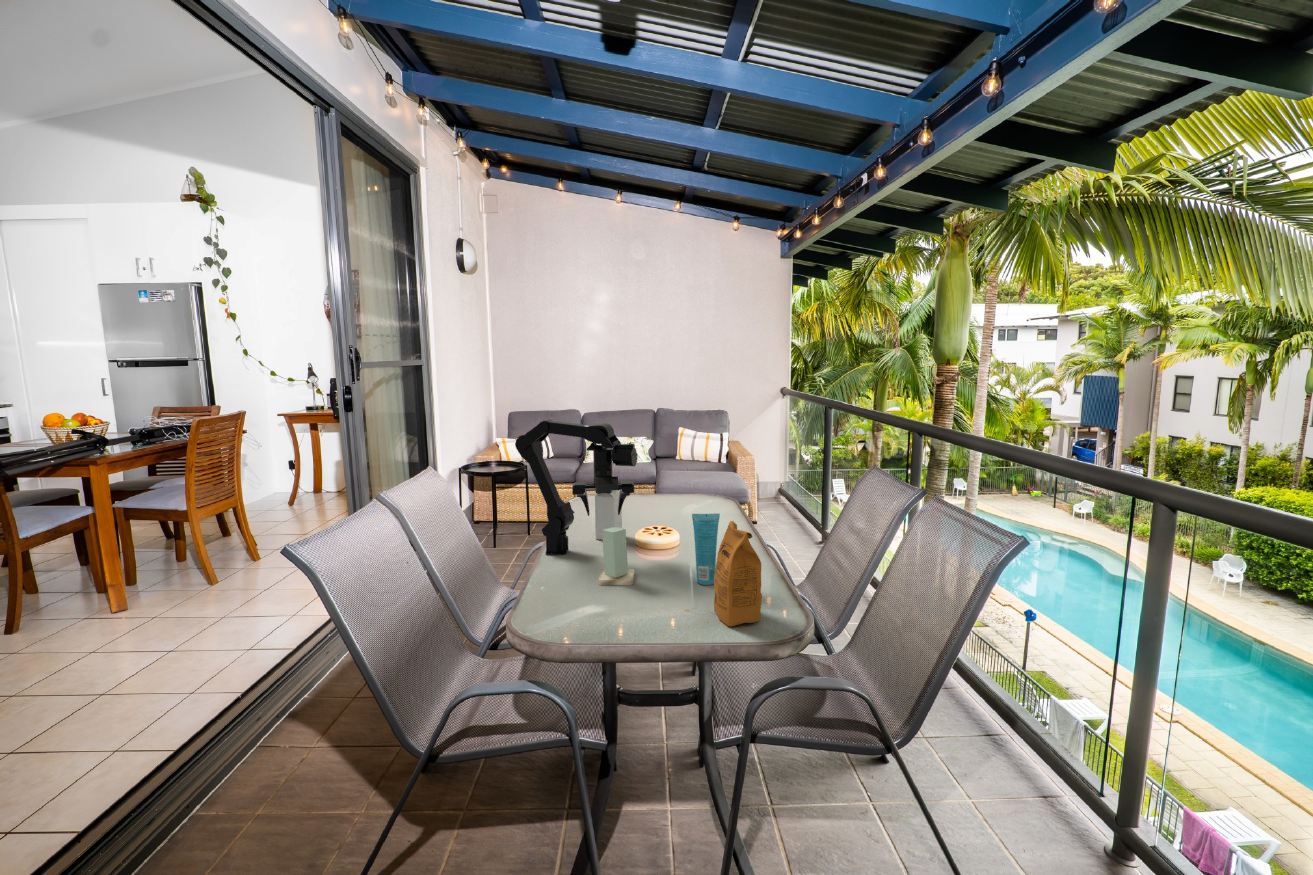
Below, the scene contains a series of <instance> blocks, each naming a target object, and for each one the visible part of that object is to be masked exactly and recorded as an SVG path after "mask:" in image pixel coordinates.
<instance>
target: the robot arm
mask: <svg viewBox="0 0 1313 875" xmlns="http://www.w3.org/2000/svg"><path fill="white" fill-rule="evenodd" d="M550 434H551V435H558V436H560V435H561V436H566V437H567V436H568V437H575V438H580V439H584V440H586V441H588V442H590V445H589V446H587V447H586V451H588V452H589V451H592V452H593V453H592V454H593V458H592V460H593V484H586V481H576V482H575V481H574V483H573V484H572V487H571V488H572V491H571V492H572V495H574V496H575V495H576V497H577V498H580V500H581V501H582V502H583V505H584V508H585V511H586V513H587V516H589V517H590V506H589V499H588V492H595V494H596V495H597V494H601V493H607V494H610V493H612V490H619V491H620V493H619V503H618V515H620V511H621V508H622V507H623V505H624V502H625V501H626V498H627V497H628V496H631V494H634V493H635V484H634V482H633V481H632V480H621V481H620V483H619V477H618V476H613V464H614V465H615V466H617V467H636V465H637V462H638V453H637V449H636V445H635V443H626V444H625V443H622V442H621V441H620V440H619V438H618V436H616V433H615V430H614V428H613V427H612V425H611V424H610V423H593V424H581V423H572V422H565V421H557V420H552V419H544V420H541V421H539V423H538V424H536V426H534V427H533V428H532V429H530V430H528V431H527V432H526V433H525V434H521V435H519V436H518V437H517V438H516V439H515V442H514V445H515V449H516V451H517V452H518V454H519V455H520V457H521V458H522V459H523V460H524V461H526V463H527V464H528V466H529V467H530V470H531V472H532V474H533V477H534V478H535V482H536V483H537V486H538V488H539V490H540V493H541V495H542V497H543V500H544V502H545V505H546V517H547V521H548V523H546V524H545V525H544V526H543V528H541V532H542V535H543V536H544V537H545V555H546V554H550V556H551V555H553V556H554V555H566V554H567V552H568V551H569V536H568V535H567V531H568V530H569V528H570V526H571V525H572V524H573V522H574V520H575V515H574V514H575V511H574V510H573V508H572V505H571V502H570V501H567V502H565V501H564V500H563V499H562V498H561V496H560V494H559V491H558V489H557V486H556V484H555V482H554V480H553V478H552V475H551V473H550V471H549V468H548V466H547V463H546V460H544V446H543V442H544V441H545V440H546V439H547V438H548V437H549V435H550Z"/></svg>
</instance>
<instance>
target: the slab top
mask: <svg viewBox="0 0 1313 875" xmlns="http://www.w3.org/2000/svg"><path fill="white" fill-rule="evenodd" d="M634 578H635V569H632V568H628V574H626V575H623V576H620V577H617V578H614V577H610V576H607V575H605V570H604V568H602V569H601V571H600V575H599V578H598V584H597V585H598V586H599V585H600V586H632V585H633V582H634Z"/></svg>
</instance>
